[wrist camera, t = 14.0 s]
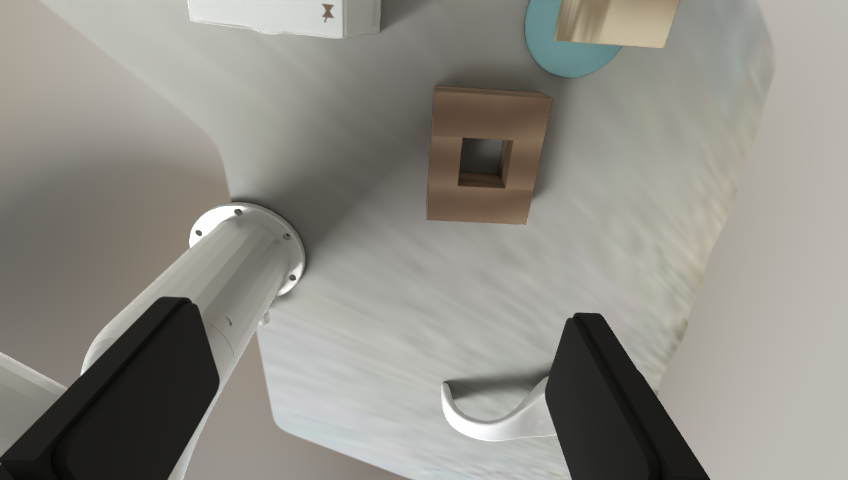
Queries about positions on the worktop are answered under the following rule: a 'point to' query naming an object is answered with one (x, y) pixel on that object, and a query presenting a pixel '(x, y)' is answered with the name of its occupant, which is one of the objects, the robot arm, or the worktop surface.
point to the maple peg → (615, 22)
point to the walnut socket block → (485, 119)
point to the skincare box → (292, 16)
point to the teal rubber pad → (560, 44)
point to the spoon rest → (504, 418)
